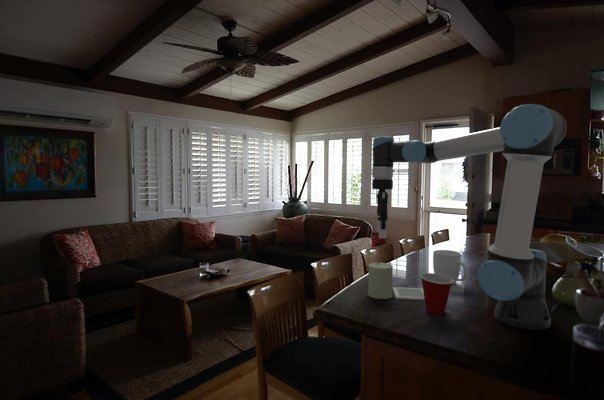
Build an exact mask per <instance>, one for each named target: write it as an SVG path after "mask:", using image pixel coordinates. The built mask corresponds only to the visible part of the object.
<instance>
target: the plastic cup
mask: <svg viewBox="0 0 604 400" xmlns="http://www.w3.org/2000/svg"><path fill="white" fill-rule="evenodd" d="M420 279H421V283H422V288H423V292H424V300H423V301H424V303H425V304H424V305H425V310H426V312H427V313H429V314H432V315H436V316H439V315H440V316H441V315H444V314H445V313H446V308H447V305H448V300H449V297H450V296H449V295H450V290H451V289H452V288H451V287H452V286H453V285H454V284H453V283H454V280H453V279H452V278H450V277H448V276H444V275H440V274H434V272H425V273H421V274H420ZM452 284H453V285H452Z"/></svg>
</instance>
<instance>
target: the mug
mask: <svg viewBox="0 0 604 400" xmlns="http://www.w3.org/2000/svg"><path fill="white" fill-rule="evenodd" d="M432 255H433V256H432V267H433V268H432V269H433V273H434V274H440V275H444V276H448V277H450V278H452V279H453V280H454V283H453V285H455V284H456V283H457V282H463V281H465V280H466V279H467V277H468V275H469V273H468V270H469V269H468V267H467V265H466V264H465V262H464V261H462V253H461V252H459V251H455V250H449V249H436V250H433V254H432ZM461 267H462V268H463V272H464V273H463V277H462V278H459V277H460V273H461V269H462V268H461Z"/></svg>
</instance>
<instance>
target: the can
mask: <svg viewBox="0 0 604 400" xmlns="http://www.w3.org/2000/svg"><path fill="white" fill-rule="evenodd" d="M393 267H394V265H392V264H391V263H387V262H371V263H369V264H368V287H367V288H368V289H367V290H368V292H367V295H368V296H369V297H370V298H373V299H379V300H387V299H391V298H392V297H393V272H394V271H393Z"/></svg>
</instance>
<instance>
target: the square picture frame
mask: <svg viewBox="0 0 604 400" xmlns="http://www.w3.org/2000/svg"><path fill="white" fill-rule="evenodd" d="M392 292H393V294H394V297H395V300H406V301H407V300H409V301H425V300H424V292H423V287H398V286H396V287H395V286H392Z"/></svg>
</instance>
